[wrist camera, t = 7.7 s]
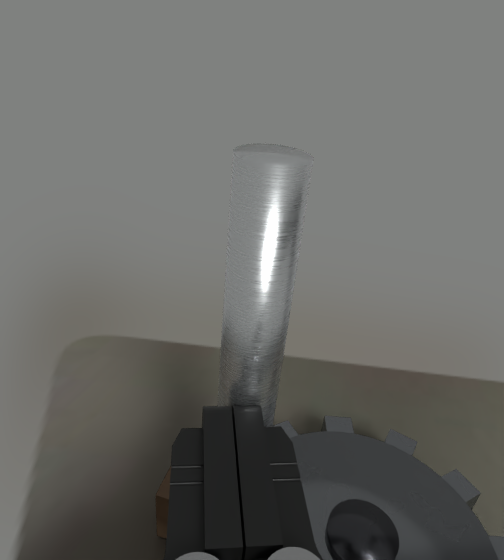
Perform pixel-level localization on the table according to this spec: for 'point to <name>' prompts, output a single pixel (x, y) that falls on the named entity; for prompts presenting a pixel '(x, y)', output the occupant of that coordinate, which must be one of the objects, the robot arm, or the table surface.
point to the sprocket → (335, 430)
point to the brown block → (163, 505)
